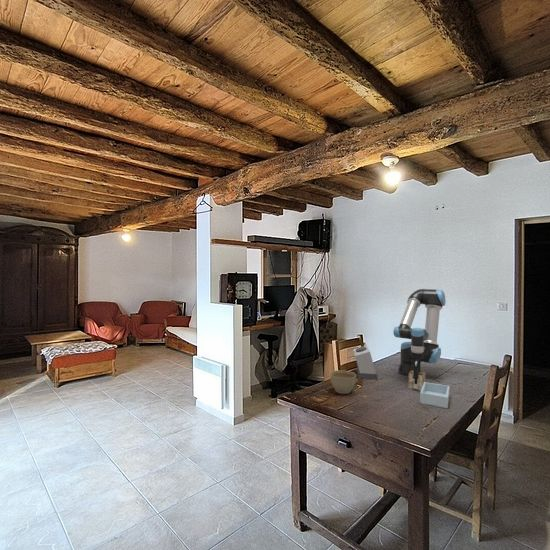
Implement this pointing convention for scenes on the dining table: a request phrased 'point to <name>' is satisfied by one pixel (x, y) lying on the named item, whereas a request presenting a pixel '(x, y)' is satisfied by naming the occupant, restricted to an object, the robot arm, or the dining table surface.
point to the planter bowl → (343, 381)
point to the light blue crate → (434, 394)
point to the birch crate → (420, 380)
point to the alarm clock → (364, 364)
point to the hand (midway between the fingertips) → (416, 386)
